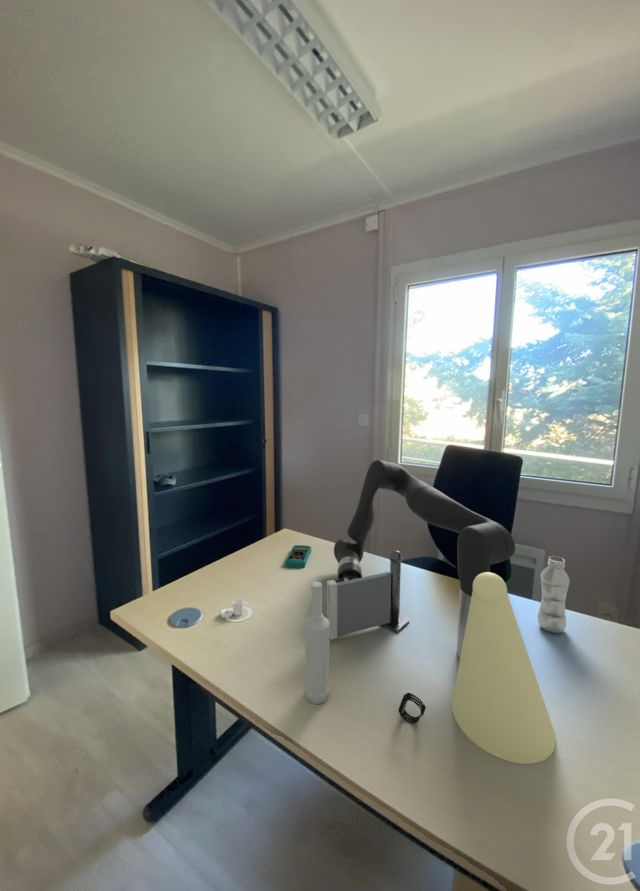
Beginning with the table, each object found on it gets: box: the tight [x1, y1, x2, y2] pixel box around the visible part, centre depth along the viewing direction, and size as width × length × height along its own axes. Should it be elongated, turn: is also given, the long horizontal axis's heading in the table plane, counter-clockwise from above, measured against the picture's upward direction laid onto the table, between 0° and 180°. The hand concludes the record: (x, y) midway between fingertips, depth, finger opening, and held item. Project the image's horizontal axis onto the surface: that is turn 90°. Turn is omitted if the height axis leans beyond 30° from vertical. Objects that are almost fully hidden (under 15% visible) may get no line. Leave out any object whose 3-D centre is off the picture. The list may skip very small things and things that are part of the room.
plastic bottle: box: [537, 555, 571, 634], centre depth 99 cm, size 6×7×20 cm
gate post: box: [381, 549, 410, 634], centre depth 101 cm, size 6×6×21 cm
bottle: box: [304, 581, 330, 705], centre depth 77 cm, size 5×5×25 cm
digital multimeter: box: [284, 544, 312, 569], centre depth 144 cm, size 8×15×3 cm, turn 172°
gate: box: [326, 571, 391, 641], centre depth 98 cm, size 18×2×15 cm, turn 112°
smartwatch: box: [398, 692, 426, 725], centre depth 72 cm, size 4×5×5 cm
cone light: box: [451, 571, 557, 765], centre depth 68 cm, size 25×18×35 cm
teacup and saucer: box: [219, 598, 253, 623], centre depth 107 cm, size 9×8×4 cm
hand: (351, 604), depth 98 cm, fingers closed
